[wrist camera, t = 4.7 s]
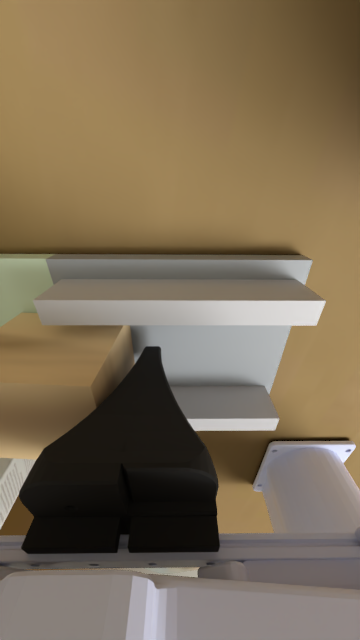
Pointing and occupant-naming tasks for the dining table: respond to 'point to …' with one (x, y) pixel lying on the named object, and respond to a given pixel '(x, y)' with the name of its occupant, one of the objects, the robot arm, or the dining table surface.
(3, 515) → the small box
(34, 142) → the dining table surface
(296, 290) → the chute
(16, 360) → the block
